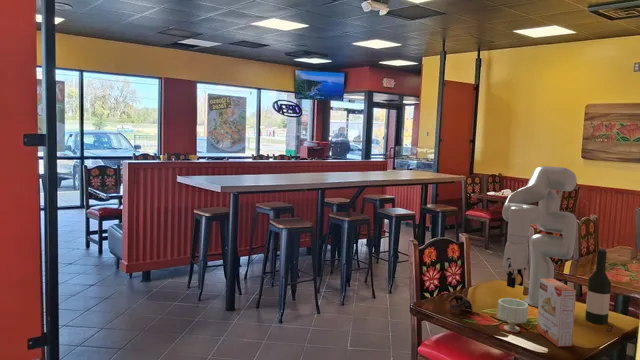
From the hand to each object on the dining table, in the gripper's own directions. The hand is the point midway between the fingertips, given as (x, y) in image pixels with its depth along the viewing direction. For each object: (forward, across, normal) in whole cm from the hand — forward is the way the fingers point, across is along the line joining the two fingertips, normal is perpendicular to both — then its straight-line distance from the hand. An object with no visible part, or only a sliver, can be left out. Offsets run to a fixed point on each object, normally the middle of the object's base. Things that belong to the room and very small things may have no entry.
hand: (514, 285), depth 184 cm
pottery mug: (+18, +2, -23) cm, 29 cm away
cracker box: (+17, -5, +14) cm, 23 cm away
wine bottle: (+18, -39, +13) cm, 44 cm away
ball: (-3, 0, 0) cm, 3 cm away
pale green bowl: (+17, -11, -7) cm, 21 cm away
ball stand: (+17, 0, 0) cm, 17 cm away
